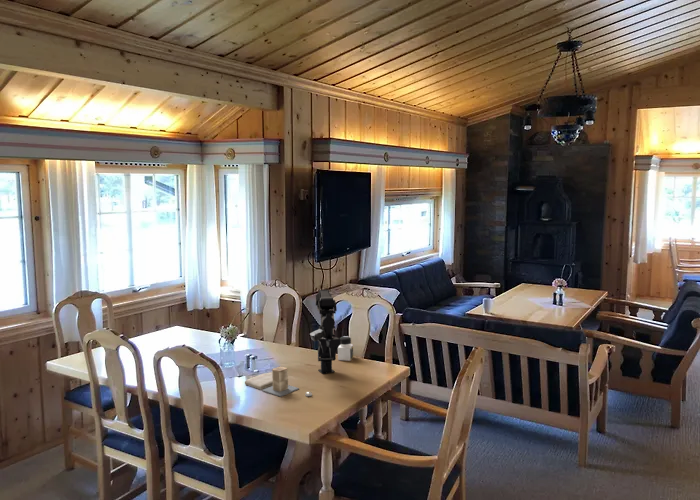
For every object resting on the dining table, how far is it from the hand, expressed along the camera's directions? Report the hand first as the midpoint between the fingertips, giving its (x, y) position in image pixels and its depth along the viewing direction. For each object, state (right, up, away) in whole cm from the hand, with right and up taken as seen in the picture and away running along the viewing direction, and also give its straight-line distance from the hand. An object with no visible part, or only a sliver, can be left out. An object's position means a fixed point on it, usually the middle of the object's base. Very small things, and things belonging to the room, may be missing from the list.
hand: (328, 355), depth 284 cm
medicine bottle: (+8, -9, +37) cm, 39 cm away
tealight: (-8, -15, -16) cm, 24 cm away
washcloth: (-30, -14, +2) cm, 33 cm away
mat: (-22, -15, -9) cm, 28 cm away
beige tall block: (-22, -14, -9) cm, 27 cm away
